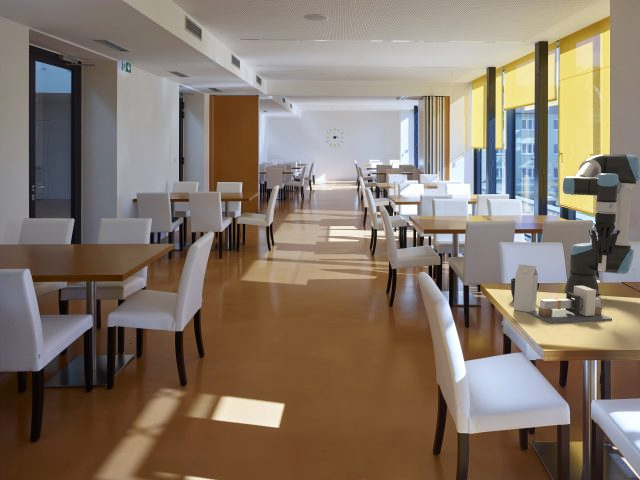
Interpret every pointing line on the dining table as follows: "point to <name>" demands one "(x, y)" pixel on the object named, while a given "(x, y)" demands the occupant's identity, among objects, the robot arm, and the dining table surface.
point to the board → (569, 317)
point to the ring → (577, 303)
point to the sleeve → (586, 299)
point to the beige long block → (563, 306)
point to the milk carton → (525, 288)
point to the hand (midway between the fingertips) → (601, 271)
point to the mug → (514, 287)
